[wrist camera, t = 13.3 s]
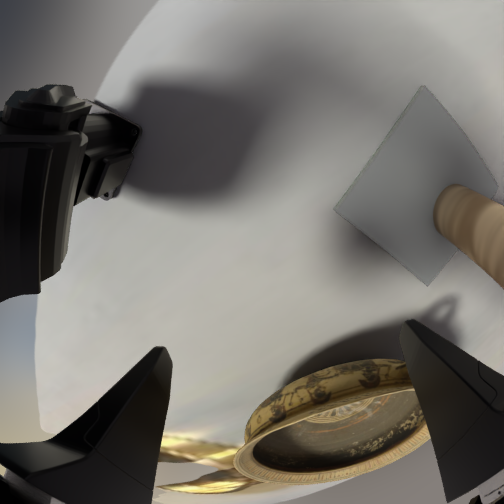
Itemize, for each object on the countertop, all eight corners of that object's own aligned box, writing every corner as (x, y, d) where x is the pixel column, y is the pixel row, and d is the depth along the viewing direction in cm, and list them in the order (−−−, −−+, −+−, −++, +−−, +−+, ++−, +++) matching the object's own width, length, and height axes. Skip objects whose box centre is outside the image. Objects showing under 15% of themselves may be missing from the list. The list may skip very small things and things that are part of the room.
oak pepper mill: (424, 209, 20) (527, 290, 8) (459, 172, 18) (568, 228, 7) (445, 246, 21) (529, 330, 10) (477, 212, 20) (568, 278, 8)
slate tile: (333, 209, 21) (335, 211, 20) (420, 86, 16) (424, 85, 15) (424, 283, 24) (427, 286, 23) (495, 185, 19) (498, 187, 18)
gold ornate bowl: (332, 443, 39) (340, 490, 30) (201, 419, 34) (193, 478, 25) (466, 326, 27) (503, 379, 18) (330, 249, 22) (371, 333, 13)
